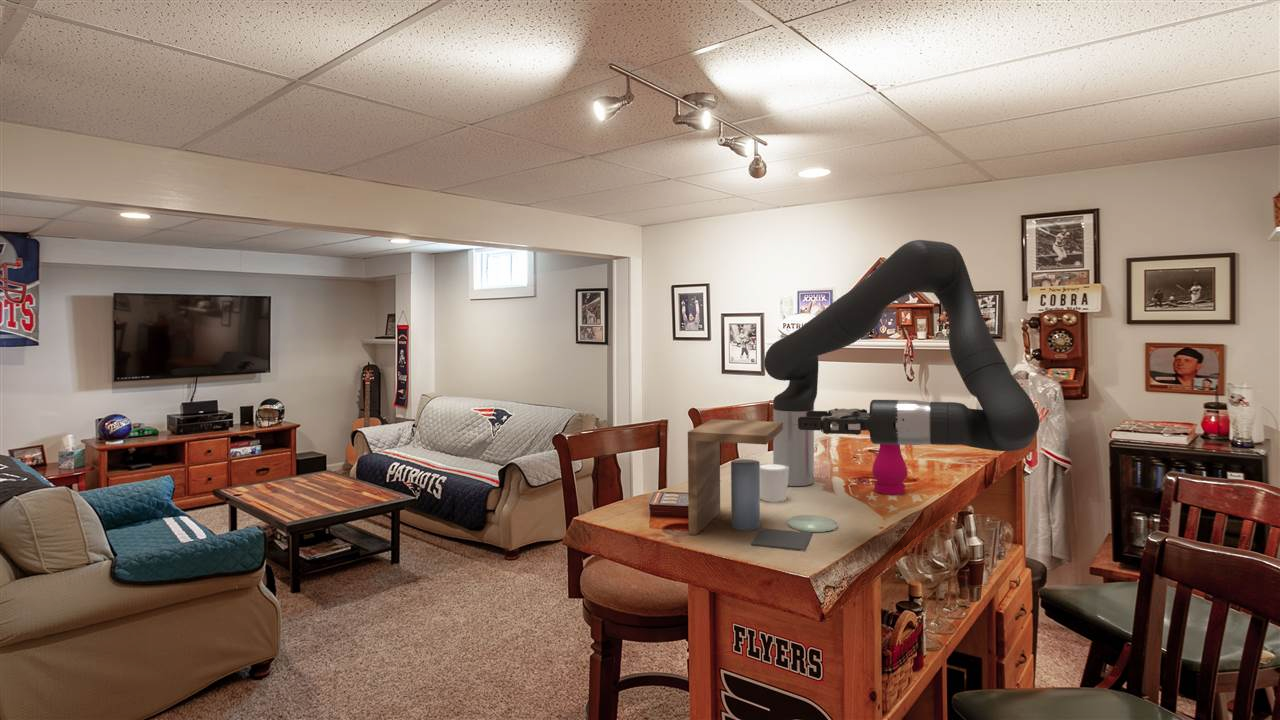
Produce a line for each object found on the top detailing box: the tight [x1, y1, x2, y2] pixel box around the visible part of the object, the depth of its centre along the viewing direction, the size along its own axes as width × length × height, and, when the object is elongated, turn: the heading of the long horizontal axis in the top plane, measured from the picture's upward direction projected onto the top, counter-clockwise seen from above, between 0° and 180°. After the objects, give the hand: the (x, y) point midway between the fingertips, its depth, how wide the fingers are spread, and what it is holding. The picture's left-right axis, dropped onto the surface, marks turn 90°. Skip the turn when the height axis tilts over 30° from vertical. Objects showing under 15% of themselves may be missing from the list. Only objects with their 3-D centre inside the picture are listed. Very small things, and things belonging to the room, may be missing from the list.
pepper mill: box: [871, 444, 908, 496], centre depth 146 cm, size 7×7×20 cm
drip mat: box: [750, 527, 813, 551], centre depth 116 cm, size 9×9×1 cm
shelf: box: [687, 418, 783, 536], centre depth 124 cm, size 14×16×18 cm
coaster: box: [787, 514, 839, 533], centre depth 124 cm, size 9×9×1 cm
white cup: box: [760, 463, 789, 503], centre depth 142 cm, size 7×7×7 cm
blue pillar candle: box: [730, 458, 761, 532], centre depth 123 cm, size 5×5×12 cm
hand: (802, 419), depth 118 cm, fingers open, 8 cm apart
